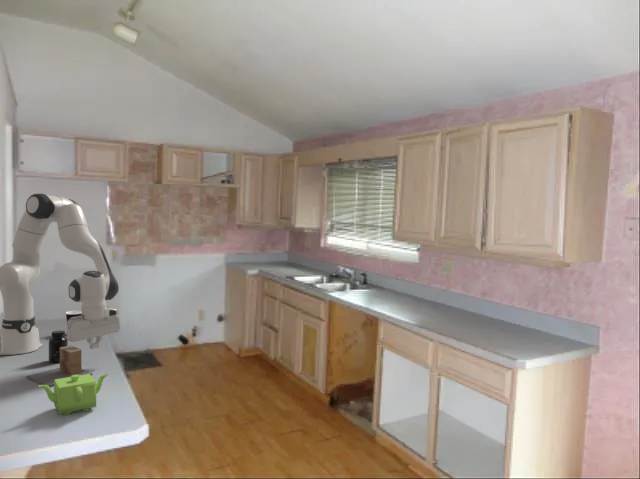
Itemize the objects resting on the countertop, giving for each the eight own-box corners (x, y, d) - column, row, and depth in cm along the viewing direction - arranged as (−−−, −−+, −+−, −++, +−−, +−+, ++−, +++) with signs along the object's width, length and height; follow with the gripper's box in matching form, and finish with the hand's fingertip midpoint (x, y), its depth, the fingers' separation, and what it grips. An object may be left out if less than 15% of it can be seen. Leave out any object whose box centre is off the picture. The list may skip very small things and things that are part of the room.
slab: (59, 371, 183) (59, 347, 183) (70, 368, 186) (70, 345, 186) (70, 375, 179) (70, 351, 178) (81, 372, 182) (81, 349, 181)
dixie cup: (73, 331, 244) (72, 310, 243) (86, 332, 242) (86, 311, 242) (61, 335, 236) (61, 313, 236) (76, 336, 235) (75, 314, 234)
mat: (26, 377, 177) (26, 375, 177) (70, 366, 190) (69, 365, 190) (48, 387, 168) (48, 385, 168) (92, 375, 181) (92, 373, 181)
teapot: (37, 417, 144) (37, 381, 144) (64, 399, 158) (64, 367, 157) (87, 419, 143) (86, 384, 143) (109, 402, 157) (109, 369, 156)
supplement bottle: (59, 363, 193) (59, 334, 193) (44, 362, 195) (44, 333, 194) (71, 358, 200) (71, 330, 199) (57, 357, 201) (56, 329, 201)
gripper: (71, 318, 179) (72, 355, 179) (122, 309, 195) (122, 343, 196) (63, 316, 182) (63, 352, 183) (112, 308, 199) (113, 341, 200)
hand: (94, 348), depth 190 cm, fingers closed
